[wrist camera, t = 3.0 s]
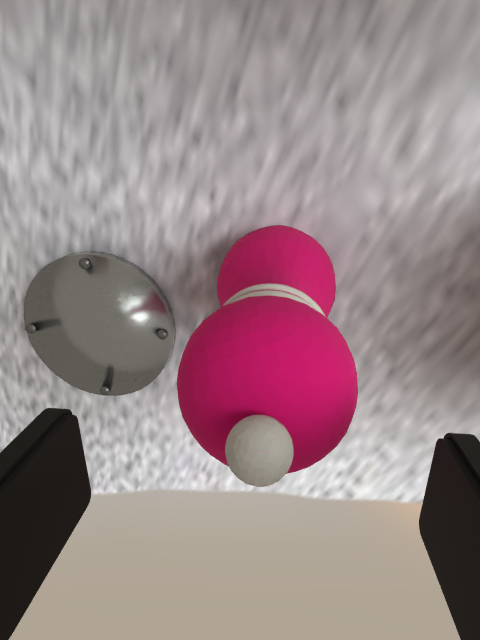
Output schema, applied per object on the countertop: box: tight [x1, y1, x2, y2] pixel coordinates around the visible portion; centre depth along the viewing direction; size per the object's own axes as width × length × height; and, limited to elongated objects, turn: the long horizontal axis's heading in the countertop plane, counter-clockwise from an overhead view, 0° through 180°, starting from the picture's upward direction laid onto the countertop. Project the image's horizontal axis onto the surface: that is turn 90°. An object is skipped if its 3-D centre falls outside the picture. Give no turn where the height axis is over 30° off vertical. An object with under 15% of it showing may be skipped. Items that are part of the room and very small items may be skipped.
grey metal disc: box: [24, 251, 175, 396], centre depth 30 cm, size 12×12×2 cm
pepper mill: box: [177, 225, 358, 487], centre depth 18 cm, size 7×7×20 cm
